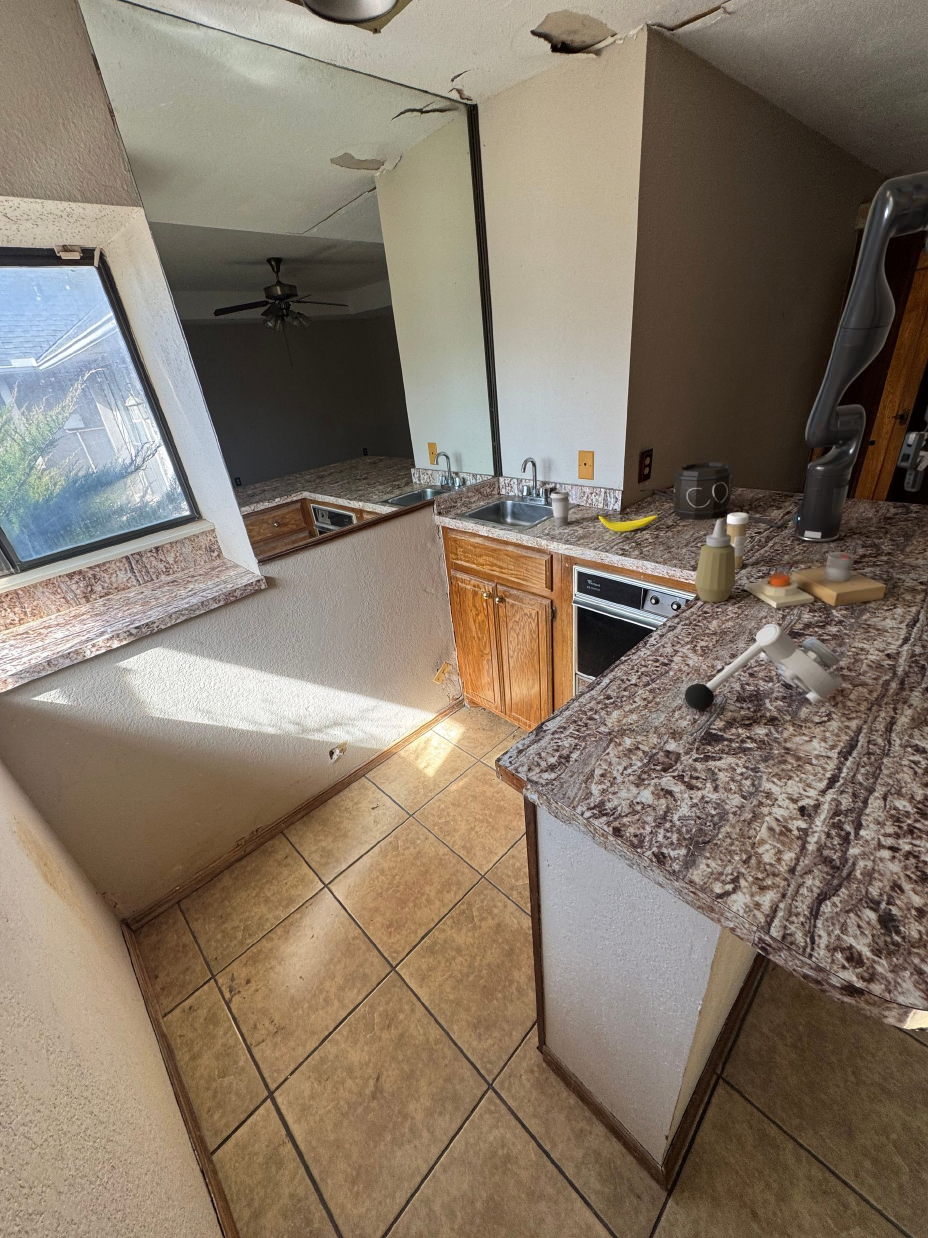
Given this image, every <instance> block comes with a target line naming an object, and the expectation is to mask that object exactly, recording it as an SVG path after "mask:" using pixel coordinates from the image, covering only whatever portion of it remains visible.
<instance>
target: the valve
mask: <svg viewBox="0 0 928 1238" xmlns="http://www.w3.org/2000/svg"><path fill="white" fill-rule="evenodd" d="M755 640H756V641H755V643H754V644H753V645H751V646H750V647H749V648H748V649H747V650H745V651H744V652H743V653H742V654H740V655H739V656H738V657H737V658H736V659H735V660H733V661H732V662H731V663H730V664H729V665H728V666H726V667H725V668H724V669H723V670H722V671H720V672H719V673H718V674H717V675H716V676H714V678H712V679H711V680H710V681H709V682H707V683H706V684H704V683H699V682H697V683H693V684H691V685H689V686H687V688H686V690H685V692H684V700H685V702H686V704H687V705H688V706H689V707H690V708H691V709H693V710H695V711H705V710H708V709H709V708H710V707H712V705H713V704H714V702H715V693H714V691H716V690H717V689H718V688H720V686H722V685H723V684H724V683H725V682H727V681H728V680H729V679H730V678H732V677H733V676H734V675H736V673H738V671H740V670H741V669H742V668H744V667H745V666H746V665H747V664H748V663H750V662H751V661H752V660H754V658H756V657H757V656H759V657H760V658H761V659H762V661H764V662H765V663H767V664H769V663H770V662H772V663H773V665H774V666H775V667H776V668H777V669H778V670H777V671H776V672H777V673H778V674H779V675H780V678H781V679H782V680H783V681H784V682H786V684H788V685H792V687H794V688H797V687H799V688H800V689H802V690H804V691H805V692H807V694H805V697H806V699H808V700H809V701H810V702H811V703H812V704H813V705H817V704H818V703H819V702H821V701H823V700H824V699H826V698H827V697H829V696H830V695H831V694H833V693H834V692H835V691H837V689H839V688H840V687H841V686H843V685H844V682H843V680H842V679H841V677H838V676H837V675H835V674H833V673H831V674H829V673H828V672H827V670H826V669H824V667H826V668H827V669H830V670H831V668H834V666H836V665H837V664H838V663H840V662H841V660H840V657H838V655H837V654H835V652H834V651H832V650H831V648H829V647H828V646H826V645H825V644H824V643H823V642H822V641H820V640H818V639H817V638H815V637H813V636H811V635H810V636H808V637H807V638H805V639H804V640H803V641H802V642H800V645H801V647H802V648H803V649H801V648H800V647H799V645H798V644H797V642H796V641H794V639H793V638H792V637H791V636H790V635H789V634H788V633H787V632H786V631H785V630H784V629H783V628H782V627H781V626H780V625H779V624H776V623H768V624H765V625H763V627H762V628H761V629H760V630H759V631H758V632H757V633H756V636H755ZM823 666H824V667H823Z"/></svg>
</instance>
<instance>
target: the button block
mask: <svg viewBox="0 0 928 1238" xmlns="http://www.w3.org/2000/svg"><path fill="white" fill-rule="evenodd" d="M769 582H770V577H766V578H763V579H762V580H761V581H757V582H750V583H746V584H744V589H745V590H746V591H747V592H749V593H751V594H752V595H754V596H755V597H757V598H759V599H760V600H762V601H763V602H765V603H767V604H768V605H770V606H772V607H774V608H775V609H777V608H778V609H779V608H785V607H790V606H796V605H797V606H798V605H804V604H810V603H814V601H815V596H814V595H812V594H810V593H808V592H806V591H804V590H802V589H800V588H799V587H797V586H798V585H797V582H796V581H794V580H792V579H791V578H790V582H789V586H785V587H777V586H772V585H770V584H769Z"/></svg>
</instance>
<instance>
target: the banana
mask: <svg viewBox="0 0 928 1238" xmlns="http://www.w3.org/2000/svg"><path fill="white" fill-rule="evenodd" d="M596 517H598V519H599V520H600V521H601V523H602V524H603V525H604V526H605V527H606V528H607V529H609V530H611V531H614V532H618V533H619V532H620V533H621V532H622V533H624V532H630V531H633V530H637V529H640V528H641V529H642V528H644V527H645V526H648V525H650V524H651V523H652V522H653V521H655V519H657V517H658V515H651V516H646V517H643V518H640V519H636V520H628V521H612V520H609V519H608V518H606V517H604V516H601V515H599V513H597V514H596Z"/></svg>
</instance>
